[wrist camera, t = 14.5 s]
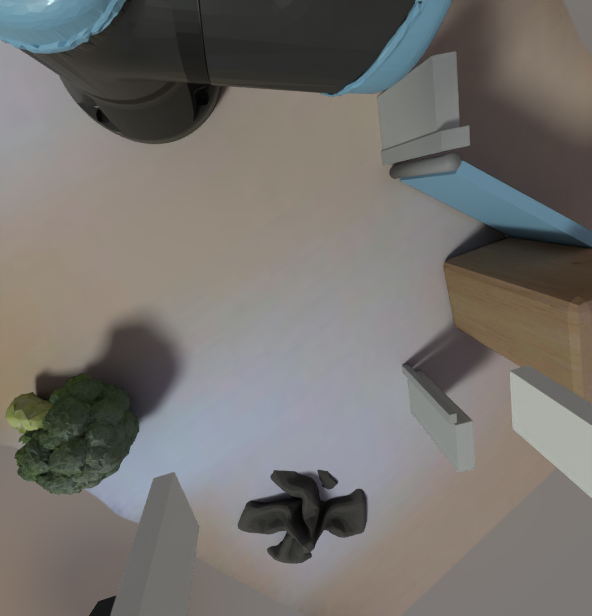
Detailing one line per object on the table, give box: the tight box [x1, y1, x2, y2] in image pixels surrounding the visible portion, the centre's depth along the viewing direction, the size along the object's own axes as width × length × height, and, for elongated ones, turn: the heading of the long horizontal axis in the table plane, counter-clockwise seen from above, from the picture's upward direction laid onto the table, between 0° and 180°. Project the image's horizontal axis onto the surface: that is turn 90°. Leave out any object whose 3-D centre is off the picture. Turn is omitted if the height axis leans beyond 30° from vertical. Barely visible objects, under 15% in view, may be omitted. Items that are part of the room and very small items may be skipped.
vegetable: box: [5, 374, 139, 495], centre depth 40 cm, size 12×13×15 cm
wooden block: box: [444, 237, 592, 403], centre depth 38 cm, size 10×10×20 cm
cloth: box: [238, 470, 366, 563], centre depth 52 cm, size 22×19×6 cm
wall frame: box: [377, 51, 475, 473], centre depth 39 cm, size 41×3×13 cm, turn 11°
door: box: [390, 153, 592, 249], centre depth 38 cm, size 27×3×12 cm, turn 67°
